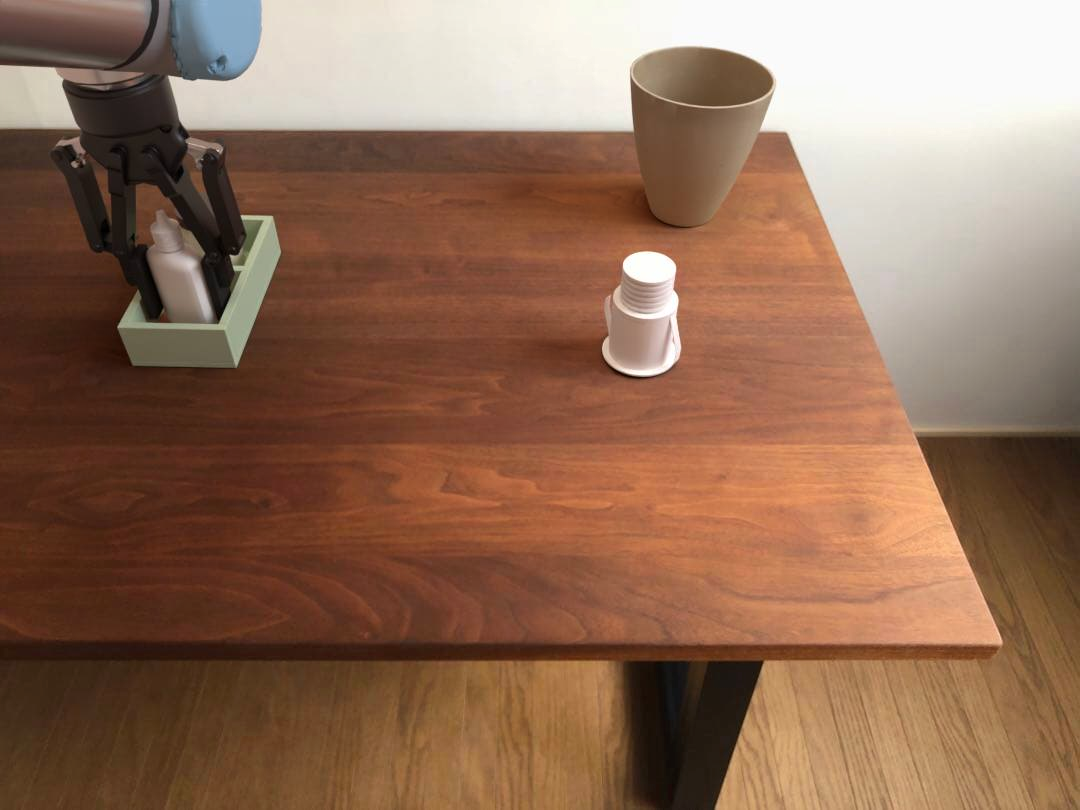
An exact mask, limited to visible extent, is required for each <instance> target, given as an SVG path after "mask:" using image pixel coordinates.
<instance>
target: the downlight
mask: <svg viewBox="0 0 1080 810" xmlns="http://www.w3.org/2000/svg"><path fill="white" fill-rule="evenodd" d="M621 272H622V273H621V282H620V284H619V285H618V286H617V287H616V288H615V290H613V294H609V295H608V296H607V297H606V298H605V299H604V306H603V314H604V318H605V323H606V327H607V332H608V335H607V336H606V337H605V338H604V340H603V342H602V347H601V352H602V356H603V359H604V360H605V361H606V363H607V364H608V365H609V366H610V367H611V368H613V369H614V370H616V371H618V372H620V373H621V374H624V375H627V376H632V377H641V378H644V377H653V376H658V375H661V374H663V373H665V372H667V371H668V370H669V369H671V368H672V366H674V365H675V364H676V362H678V360H680V357H681V351H682V344H681V338H680V332H679V327H678V319H677V314H678V308H679V296H678V294H677V292H676V291H675V290H674V287H675V279H676V273H677V266H676V263H675V262H674V260H672V259H671V258H670V257H669V256H667V255H665V254H663V253H661V252H657V251H656V252H655V251H639V252H635V253H632V254H629V255H627V257H625V259H624V261H623V263H622V271H621ZM611 296H613V297H612V307H610V306H611V305H610V304H611Z"/></svg>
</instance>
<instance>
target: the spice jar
mask: <svg viewBox="0 0 1080 810" xmlns="http://www.w3.org/2000/svg"><path fill="white" fill-rule="evenodd" d="M199 194H200V196H201V197H202V199H203V200H204V202H205V204H206V205H207V207H208V208H209V210H210V212H211V213H212V215H213V217H214V218H215V216H214V213H213V210H212V207H211V204H210V202H209V199H208V196H207V193H206V191H200V192H199ZM173 209H174V210H173V211H174V215H175V218H176V219H175V220H176V221H178V222H179V225H180V228H181V231H182V234H183V237H184V240H185V243H187V244H189V245H190V246H192V247H193V248H194V249H195V250H197V251H198V252H199V254H200V255H201V256H202V257H204V255H205V252H204V251H203V249H202V248H201V246H200V245H199V243H198V242H197V240H196V239H195V237H194V236H193V234H192V232H191V231H190V229H189V228H188V226H187V225H186V223H185V222H184V220H183V219H182V217H181V216H180V214H179V212H178V211H177V209H176V208H175V207H174V208H173ZM215 220H216V219H215ZM230 258H231V261H232V265H233V266H244V264H245V262H246V256H245V252H244V248H243V246H242V248H241V250H240V253H239V254H238V255H236V256H232V255H230Z"/></svg>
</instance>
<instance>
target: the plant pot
mask: <svg viewBox="0 0 1080 810" xmlns="http://www.w3.org/2000/svg"><path fill="white" fill-rule="evenodd" d="M629 80H630V82H629V84H630V101H631V116H632V117H631V119H632V126H633V135H634V142H635V143H634V144H635V150H636V155H637V161H638V166H639V170H640V176H641V180H642V184H643V188H644V191H645V196H646V199H647V202H648V205H649V209H650V211H651V214H652V215H653V216H654V217H655V218H656V219H657V220H660V221H661V222H663V223H666V224H669V225H671V226H675V227H683V228H684V227H686V228H690V227H692V228H693V227H699V226H702V225H704V224H707V223H708V222H710V221H711V220H712V219H714V217H715V215H716V213H717V212H718V210H719V209H720V208H721V206H722V205H723V203H724V201H725V200H726V198H727V196H728V195H729V193H730V191H731V190H732V188H733V186H734V184H735V183H736V181H737V179H738V178H739V175H740V174H741V171H742V169H743V168H744V166H745V164H746V161H747V160H748V158H749V155H750V153H751V151H752V149H753V147H754V145H755V143H756V140H757V138H758V135H759V133H760V131H761V128H762V126H763V124H764V120H765V118H766V115H767V112H768V110H769V107H770V104H771V102H772V98H773V95H774V93H775V91H776V87H777V78H776V76H775V74H774V73H773V72H772V70H771V69H770V68H769V67H768V66H766V65H764V64H763V63H762V62H761V61H759V60H756V59H755V58H753V57H751V56H748V55H745V54H743V53H740V52H737V51H733V50H730V49H725V48H720V47H711V46H703V45H678V46H670V47H664V48H659V49H658V48H657V49H655V50H652V51H649V52H646V53H644V54H642V55H641V56H638V57H637V58H636V59H635V60H634V61H633V62H632V63H631V65H630V67H629Z"/></svg>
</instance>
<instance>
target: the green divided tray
mask: <svg viewBox="0 0 1080 810" xmlns="http://www.w3.org/2000/svg"><path fill="white" fill-rule="evenodd" d="M240 215H241V218H242V221H243V225H244V228H245V231H246V234H247V237H246V239H245V242H244V244H243V248H244V252H245V256H246V262H245V264H244V266H233V269H234V272H235V276H234V280H233V282H232V284H231V287H230V291H231V297H230V299H229V301H228V304H227V306H226V308H225V310H224V313H223V315H222V317H221V320H220V322H219V324H186V323H171V322H170V320H169V319H168V318H167V316H166V313H165V310H164V308H163V310H162V312H161V314H160V316H159V318H158V320H150V319H149V317H148V314H147V311H146V309H145V306H144V303H143V301H142V298H141V295H140V293H139V290H138V289H137V291H136V293H135V294H134V296H133V298H132V300H131V302H130V303H129V305H128V307H127V309H126V310H125V312H124V314H123V316H122V318H121V319H120V322H119V323H118V325H117V327H116V329H117V330H118V333H119V335H120V337H121V341H122V343H123V345H124V348H125V350H126V352H127V355H128V358H129V360H130V363H131V364H132V366H133V367H169V368H170V367H171V368H214V369H215V368H219V369H220V368H221V369H224V368H225V369H237V367H238V365H239V363H240V360H241V357H242V355H243V352H244V349H245V347H246V345H247V342H248V339H249V336H250V334H251V333H252V329H253V326H254V324H255V322H256V319H257V316H258V313H259V311H260V308H261V306H262V304H263V301H264V298H265V295H266V293H267V290H268V288H269V285H270V283H271V281H272V279H273V275H274V272H275V270H276V268H277V264H278V262H279V259H280V257H281V254H282V250H281V245H280V241H279V237H278V233H277V228H276V223H275V220H274V216H273V215H253V214H252V215H246V214H240ZM183 238H184V237H183ZM184 241H185V240H184Z"/></svg>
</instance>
